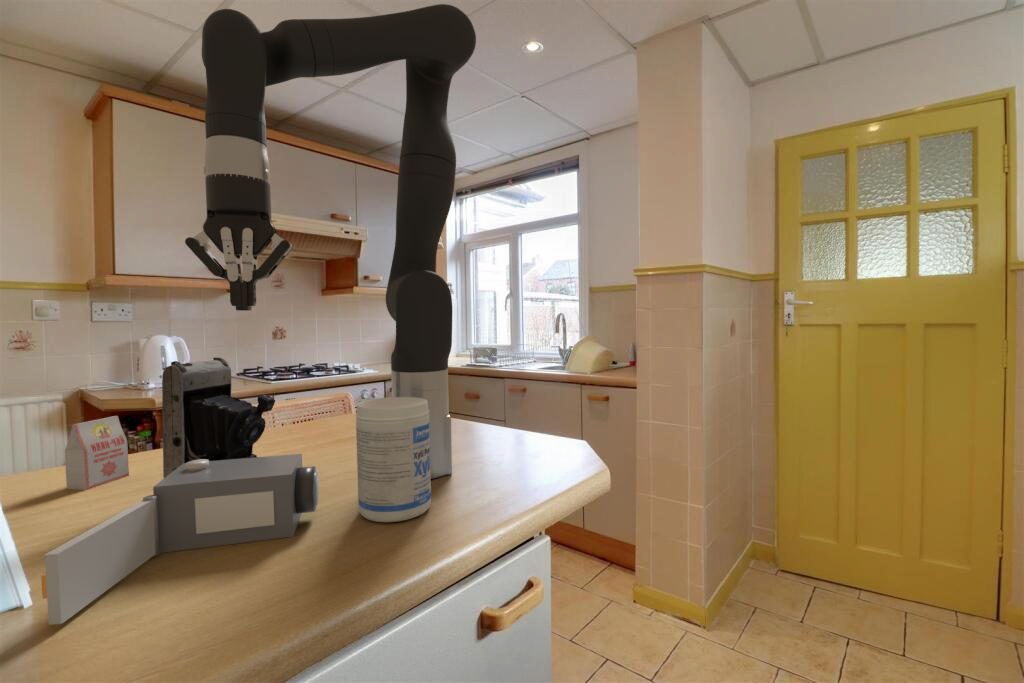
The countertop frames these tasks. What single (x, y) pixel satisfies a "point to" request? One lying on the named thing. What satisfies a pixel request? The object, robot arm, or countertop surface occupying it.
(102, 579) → the side door
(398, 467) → the supplement tub
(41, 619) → the countertop surface
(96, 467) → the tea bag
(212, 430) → the vintage camera
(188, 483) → the camera housing
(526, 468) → the countertop surface
